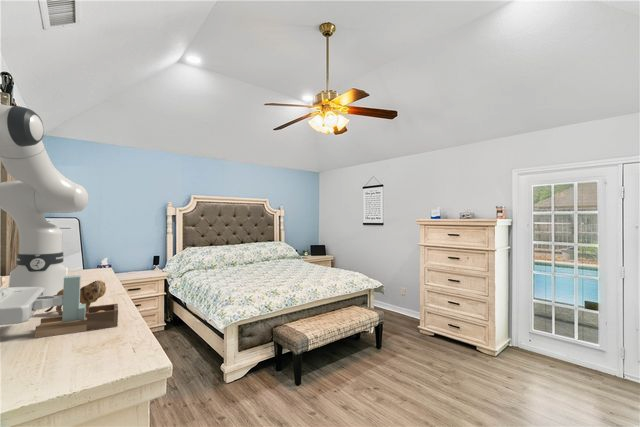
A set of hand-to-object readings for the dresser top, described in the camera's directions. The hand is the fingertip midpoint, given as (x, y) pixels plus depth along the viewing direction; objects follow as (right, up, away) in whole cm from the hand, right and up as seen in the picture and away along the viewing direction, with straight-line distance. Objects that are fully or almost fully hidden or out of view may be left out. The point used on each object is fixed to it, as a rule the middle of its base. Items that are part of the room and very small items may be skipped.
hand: (63, 300), depth 74 cm
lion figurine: (-7, -8, +14) cm, 17 cm away
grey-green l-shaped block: (+2, -5, +1) cm, 6 cm away
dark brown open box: (+6, -7, +4) cm, 11 cm away
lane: (0, -7, 0) cm, 7 cm away
